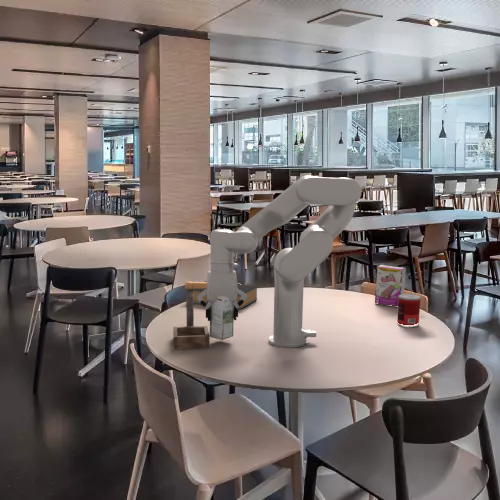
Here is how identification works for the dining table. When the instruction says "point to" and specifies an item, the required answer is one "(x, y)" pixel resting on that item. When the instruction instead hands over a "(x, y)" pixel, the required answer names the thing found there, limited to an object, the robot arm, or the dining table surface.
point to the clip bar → (195, 285)
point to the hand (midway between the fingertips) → (221, 319)
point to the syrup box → (221, 318)
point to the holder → (191, 329)
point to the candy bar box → (389, 284)
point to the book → (248, 290)
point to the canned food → (408, 309)
